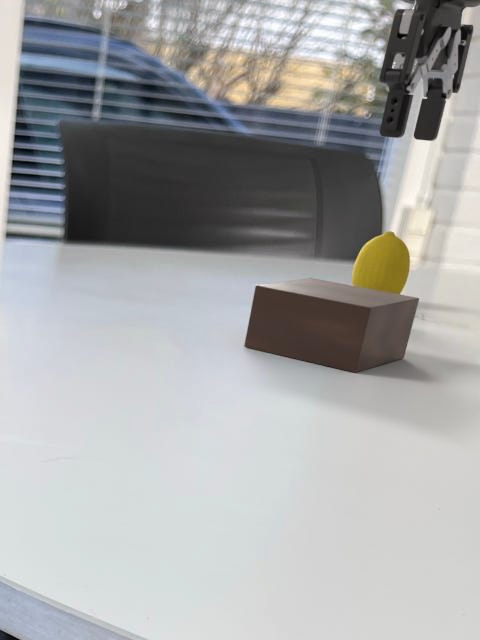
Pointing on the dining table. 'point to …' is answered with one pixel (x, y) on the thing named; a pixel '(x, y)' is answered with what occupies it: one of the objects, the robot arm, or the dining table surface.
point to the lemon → (382, 264)
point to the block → (330, 323)
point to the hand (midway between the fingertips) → (408, 138)
